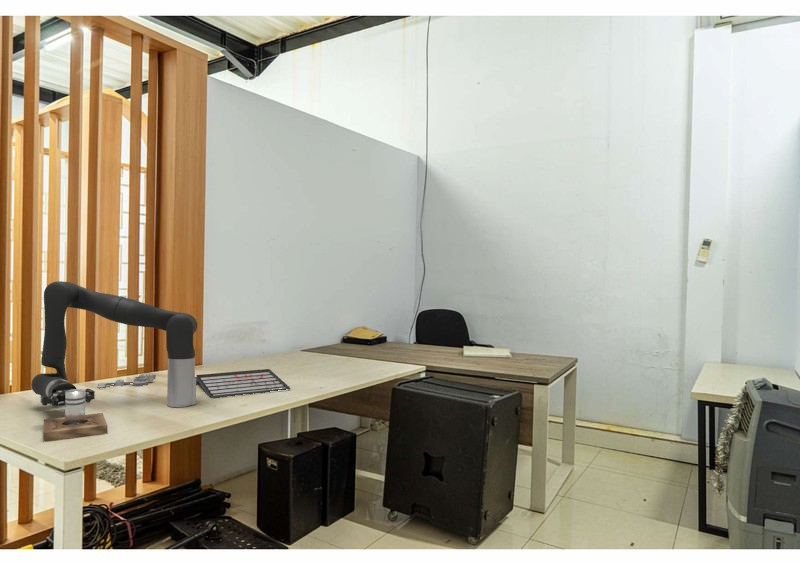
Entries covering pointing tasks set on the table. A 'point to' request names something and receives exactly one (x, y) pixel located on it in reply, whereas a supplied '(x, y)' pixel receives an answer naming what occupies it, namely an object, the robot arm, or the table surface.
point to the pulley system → (138, 381)
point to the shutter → (240, 383)
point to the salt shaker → (75, 407)
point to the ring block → (74, 427)
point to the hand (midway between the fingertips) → (73, 401)
